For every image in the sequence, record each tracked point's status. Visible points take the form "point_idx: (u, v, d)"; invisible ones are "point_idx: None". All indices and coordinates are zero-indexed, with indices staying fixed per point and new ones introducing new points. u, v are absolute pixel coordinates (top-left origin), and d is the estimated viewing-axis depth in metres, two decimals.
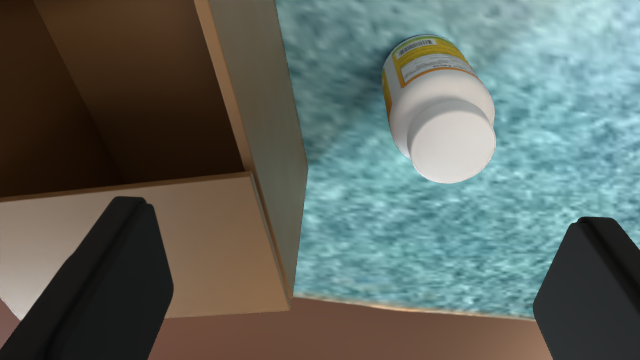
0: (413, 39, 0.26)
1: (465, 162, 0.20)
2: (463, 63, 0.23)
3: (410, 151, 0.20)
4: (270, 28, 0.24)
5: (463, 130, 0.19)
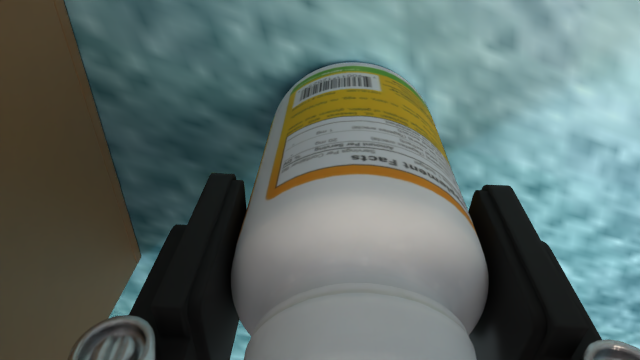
0: (337, 68, 0.13)
1: None
2: (429, 152, 0.09)
3: None
4: None
5: None
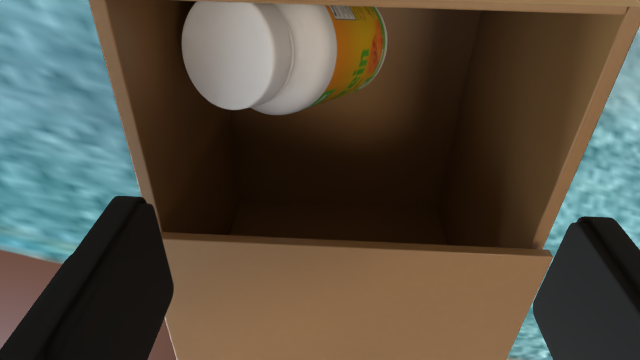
0: None
1: (239, 77, 0.15)
2: None
3: (183, 44, 0.15)
4: None
5: (234, 22, 0.14)
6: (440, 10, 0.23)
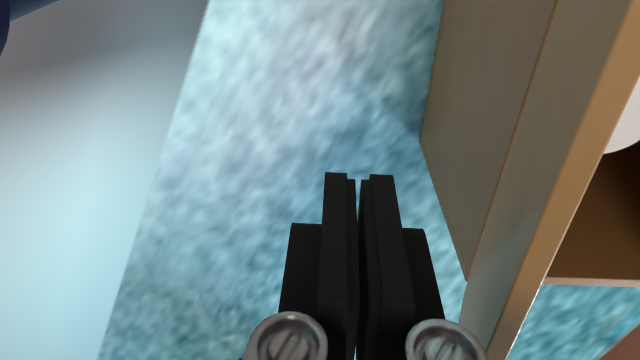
0: None
1: None
2: None
3: None
4: None
5: None
6: None
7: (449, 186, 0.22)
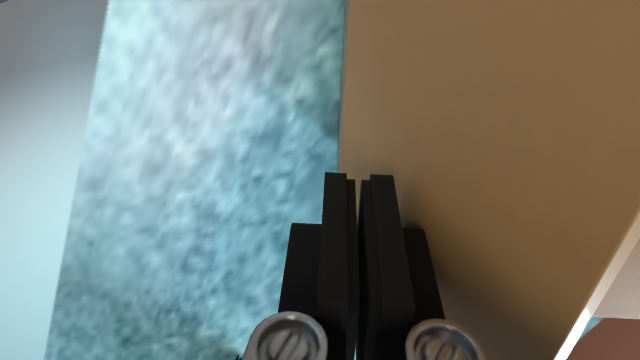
0: None
1: None
2: None
3: None
4: None
5: None
6: None
7: None
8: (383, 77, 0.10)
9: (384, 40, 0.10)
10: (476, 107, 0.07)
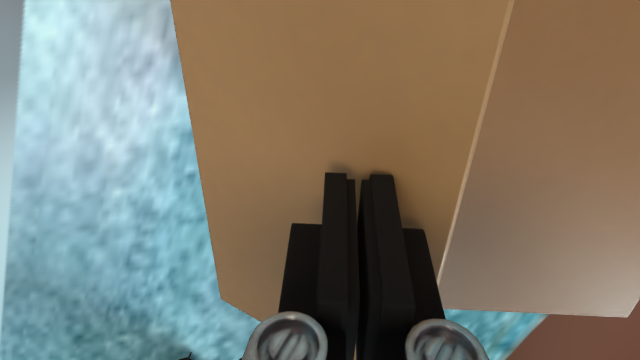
0: None
1: None
2: None
3: None
4: None
5: None
6: None
7: None
8: (236, 59, 0.11)
9: (228, 25, 0.11)
10: (346, 59, 0.09)
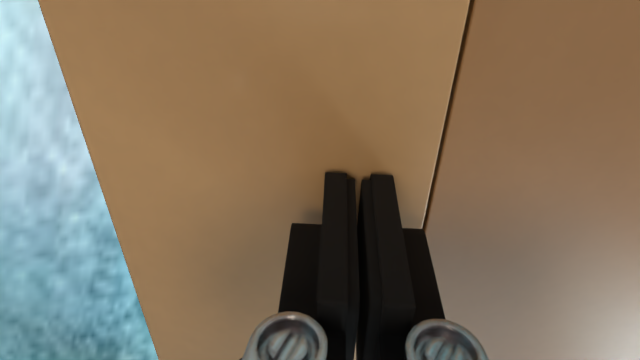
0: None
1: None
2: None
3: None
4: None
5: None
6: None
7: None
8: (160, 89, 0.09)
9: (146, 51, 0.09)
10: (306, 67, 0.09)
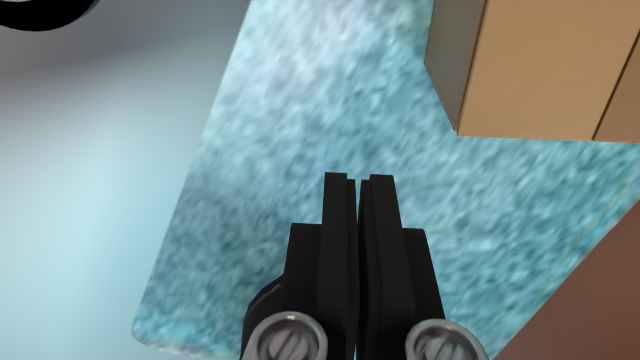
0: None
1: None
2: None
3: None
4: None
5: None
6: None
7: (444, 76, 0.31)
8: None
9: None
10: None
